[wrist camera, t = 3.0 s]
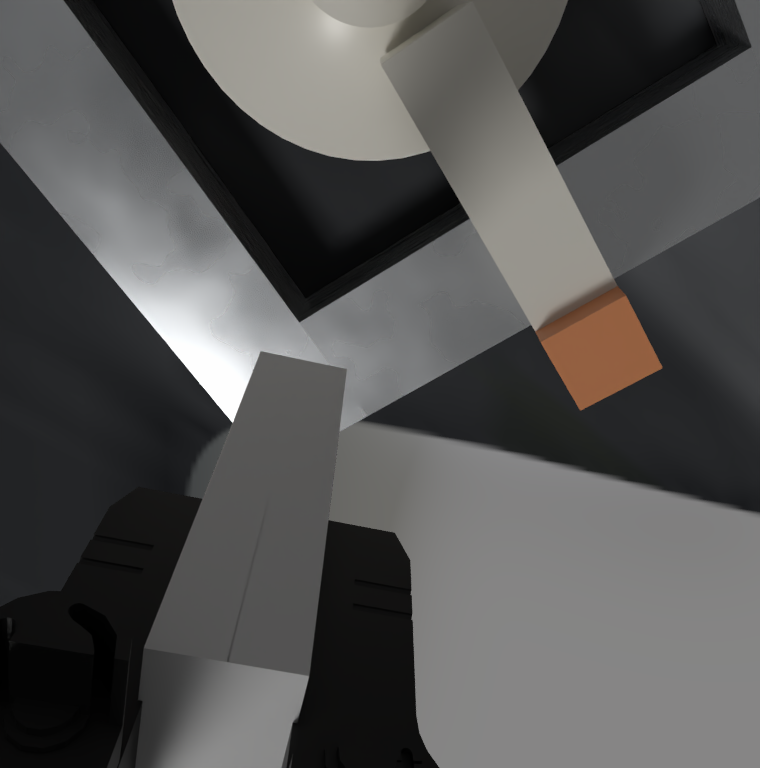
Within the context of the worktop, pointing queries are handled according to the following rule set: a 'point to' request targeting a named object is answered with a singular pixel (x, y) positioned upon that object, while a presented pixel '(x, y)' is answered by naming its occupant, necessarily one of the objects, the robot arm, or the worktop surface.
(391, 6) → the dial
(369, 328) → the housing
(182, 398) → the worktop surface
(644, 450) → the worktop surface
